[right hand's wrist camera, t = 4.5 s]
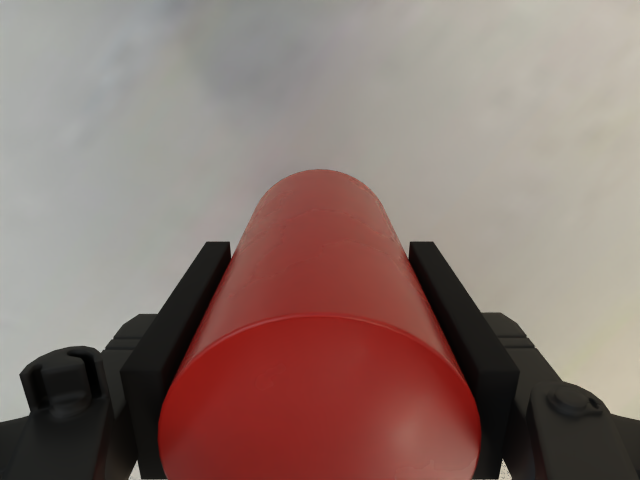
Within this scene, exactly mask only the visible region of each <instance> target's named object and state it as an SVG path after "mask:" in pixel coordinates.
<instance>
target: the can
mask: <svg viewBox="0 0 640 480" xmlns="http://www.w3.org/2000/svg"><path fill="white" fill-rule="evenodd" d="M481 433H482V432H481V423H480V415H479V412H478V409H477V405H476V402H475V399H474V397H473V395H472V393H471V390H470V388H469V386H468V384H467V382H466V380H465V378H464V376H463V374H462V372H461V369H460V367H459V365H458V363H457V361H456V359H455V357H454V355H453V353H452V350H451V348H450V346H449V344H448V342H447V340H446V338H445V336H444V334H443V332H442V329H441V327H440V325H439V323H438V321H437V319H436V317H435V315H434V313H433V311H432V308H431V306H430V304H429V302H428V300H427V298H426V296H425V294H424V292H423V290H422V287H421V285H420V283H419V281H418V279H417V277H416V275H415V273H414V271H413V268H412V266H411V264H410V262H409V260H408V258H407V256H406V254H405V252H404V250H403V247H402V245H401V243H400V241H399V239H398V237H397V235H396V233H395V231H394V229H393V226H392V224H391V222H390V220H389V218H388V216H387V214H386V212H385V210H384V208H383V206H382V204H381V202H380V201H379V199H378V198H377V196H376V195H375V194H374V193H373V192H372V191H371V190H370V189H369V188H368V187H367V186H366V185H365V184H363V183H362V182H360V181H359V180H357V179H356V178H354V177H351V176H349V175H347V174H344V173H341V172H338V171H332V170H322V169H316V170H307V171H302V172H298V173H295V174H293V175H290V176H288V177H286V178H284V179H282V180H281V181H279V182H278V183H276V184H275V185H274V186H272V187H271V188H270V189H269V190H268V191H267V192H266V193H265V195H264V196H263V197H262V198H261V200H260V201H259V203H258V205H257V206H256V208H255V210H254V213H253V215H252V217H251V219H250V221H249V223H248V225H247V227H246V229H245V231H244V233H243V235H242V238H241V240H240V242H239V244H238V246H237V248H236V250H235V252H234V254H233V256H232V258H231V260H230V263H229V265H228V267H227V269H226V271H225V273H224V275H223V277H222V279H221V281H220V283H219V286H218V288H217V290H216V292H215V294H214V296H213V298H212V300H211V302H210V304H209V306H208V308H207V311H206V313H205V315H204V317H203V319H202V321H201V323H200V325H199V327H198V329H197V331H196V333H195V336H194V338H193V340H192V342H191V344H190V346H189V348H188V350H187V352H186V354H185V356H184V358H183V361H182V363H181V365H180V367H179V369H178V371H177V373H176V375H175V377H174V379H173V381H172V383H171V386H170V388H169V390H168V392H167V395H166V397H165V399H164V402H163V404H162V408H161V412H160V416H159V421H158V437H157V439H158V448H159V456H160V460H161V463H162V467H163V470H164V473H165V475H166V477H167V479H168V480H471V479H472V477H473V474H474V472H475V470H476V467H477V463H478V459H479V455H480V449H481Z"/></svg>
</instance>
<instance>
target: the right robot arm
mask: <svg viewBox="0 0 640 480" xmlns="http://www.w3.org/2000/svg"><path fill="white" fill-rule="evenodd" d="M230 260H231V251H230V242H206V243H205V245H204V246H203V248H202V249H201V251H200V252H199V254H198V255H197V257H196V258H195V260H194V261H193V263H192V264H191V265H190V267H189V268H188V270H187V271H186V273H185V274H184V276H183V277H182V279H181V280H180V282H179V283H178V285H177V286H176V288H175V289H174V291H173V292H172V294H171V295H170V297H169V298H168V300H167V301H166V303H165V304H164V306H163V307H162V309H161V310H160V311H159V313H158V314H139V315H137V316H136V317H134V318H132V319H131V320H129V321H128V322H126V323H125V324H123V325H122V327H121V328H120V329H119V331H118V332H117V333H116V334H115V336H114V338H113V339H112V340H111V341H110V342H109V343H108V345H107V346H106V347H105V350H103V351H102V352H101V353H100V352H99V351H97V350H96V349H95V348H91V347H86V346H74V347H67V348H63V349H59V350H54V351H52V352H50V353H47V354H45V355H43V356H40V357H39V358H37V359H36V360H34V361H33V362H31V363H30V364H28V365H27V366H26V367H25V368H24V370H23V371H22V372H21V373H20V374H19V375H20V379H21V382H22V385H23V388H24V392H25V395H26V398H27V402H28V405H29V408H30V411H31V412H30V414H29V416H26V417H22V418H18V419H14V420H9V421H5V422H0V480H128V478H129V476H130V474H131V472H132V470H133V468H134V466H135V463H136V461H137V460H138V465H139V470H140V475H141V479H167V477H166V475H165V473H164V470H163V467H162V463H161V460H160V456H159V448H158V439H157V437H158V421H159V416H160V412H161V408H162V404H163V402H164V399H165V397H166V395H167V392H168V390H169V388H170V386H171V383H172V381H173V379H174V377H175V375H176V373H177V371H178V369H179V367H180V365H181V363H182V361H183V358H184V356H185V354H186V352H187V350H188V348H189V346H190V344H191V342H192V340H193V338H194V336H195V333H196V331H197V329H198V327H199V325H200V323H201V321H202V319H203V317H204V315H205V313H206V311H207V308H208V306H209V304H210V302H211V300H212V298H213V296H214V294H215V292H216V290H217V288H218V286H219V283H220V281H221V279H222V277H223V275H224V273H225V271H226V269H227V267H228V265H229V263H230ZM409 262H410V264H411V266H412V268H413V271H414V273H415V275H416V277H417V279H418V281H419V283H420V285H421V287H422V290H423V292H424V294H425V296H426V298H427V300H428V302H429V304H430V306H431V308H432V311H433V313H434V315H435V317H436V319H437V321H438V323H439V325H440V327H441V329H442V332H443V334H444V336H445V338H446V340H447V342H448V344H449V346H450V348H451V350H452V353H453V355H454V357H455V359H456V361H457V363H458V365H459V367H460V369H461V372H462V374H463V376H464V378H465V380H466V382H467V384H468V386H469V388H470V390H471V393H472V395H473V397H474V399H475V402H476V405H477V409H478V412H479V415H480V423H481V432H482V433H481V449H480V455H479V459H478V463H477V467H476V470H475V472H474V474H473V477H472V479H499V474H500V469H501V464H502V459H503V460H504V462H505V464H506V466H507V468H508V470H509V472H510V474H511V477H512V480H640V421H639V420H635V419H630V418H626V417H621V416H617V415H614V414H610V411H609V410H608V408H607V407H606V406H605V404H604V403H603V402H602V401H601V400H600V399H599V398H597V397H596V396H595V395H594V394H592V393H591V392H589V391H587V390H585V389H583V388H581V387H579V386H577V385H574V384H570V383H567V382H563V381H562V380H561V379H560V377H559V376H558V375H557V374H556V372H555V371H554V370H553V368H552V367H551V366H550V365H549V363H548V362H547V361H546V360H545V358H544V357H543V356H542V355H541V353H540V352H539V351H538V349H537V348H535V346H534V344H533V343H532V342H531V341H530V339H529V338H527V337H526V334H525V333H524V332H523V330H522V329H521V328H520V327H519V325H518V324H517V323H516V322H514V321H513V320H511V319H510V318H508V317H507V316H505V315H503V314H502V313H481V312H480V310H479V309H478V307H477V306H476V304H475V303H474V302H473V300H472V299H471V297H470V296H469V294H468V293H467V291H466V290H465V288H464V287H463V285H462V284H461V282H460V281H459V279H458V278H457V276H456V275H455V273H454V272H453V270H452V269H451V267H450V266H449V264H448V263H447V261H446V260H445V259H444V257H443V256H442V254H441V253H440V251H439V250H438V248H437V247H436V245H435V244H434V242H410V247H409Z"/></svg>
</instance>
